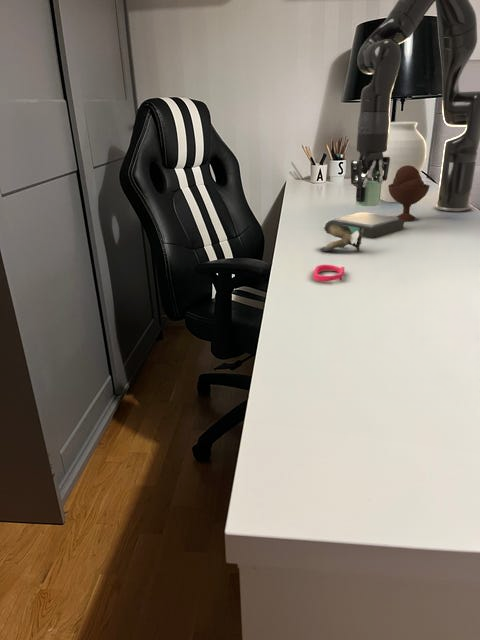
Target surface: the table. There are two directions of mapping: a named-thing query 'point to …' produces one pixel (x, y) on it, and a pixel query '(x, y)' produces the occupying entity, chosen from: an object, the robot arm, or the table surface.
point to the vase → (402, 152)
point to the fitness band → (328, 278)
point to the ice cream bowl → (407, 189)
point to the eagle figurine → (342, 236)
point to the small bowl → (371, 194)
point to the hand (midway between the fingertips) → (368, 199)
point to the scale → (371, 224)
